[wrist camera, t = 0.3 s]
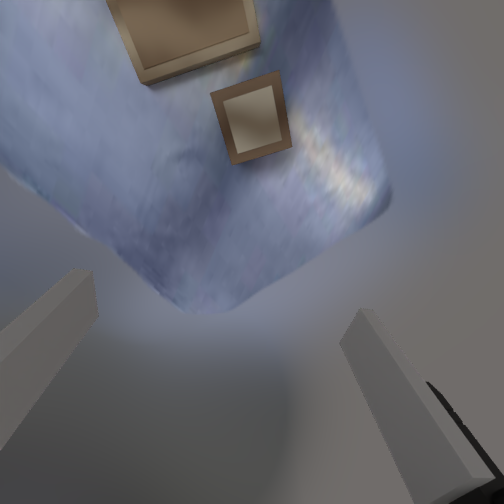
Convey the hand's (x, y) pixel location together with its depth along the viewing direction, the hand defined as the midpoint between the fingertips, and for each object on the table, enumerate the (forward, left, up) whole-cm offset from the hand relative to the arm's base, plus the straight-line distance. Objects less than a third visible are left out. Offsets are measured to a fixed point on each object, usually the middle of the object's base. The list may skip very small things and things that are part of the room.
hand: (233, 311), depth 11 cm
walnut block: (-8, +4, -26) cm, 27 cm away
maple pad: (-21, 0, -26) cm, 33 cm away
